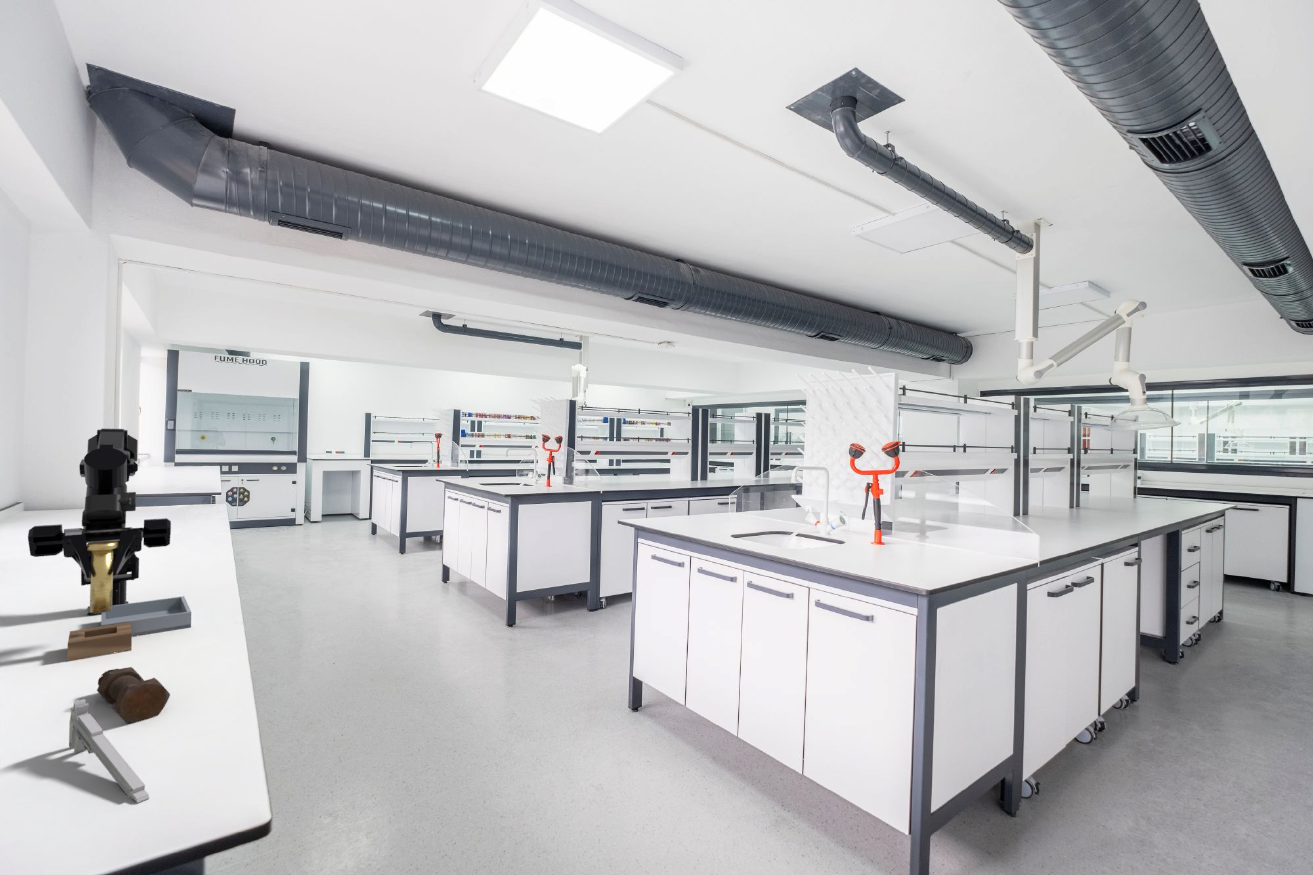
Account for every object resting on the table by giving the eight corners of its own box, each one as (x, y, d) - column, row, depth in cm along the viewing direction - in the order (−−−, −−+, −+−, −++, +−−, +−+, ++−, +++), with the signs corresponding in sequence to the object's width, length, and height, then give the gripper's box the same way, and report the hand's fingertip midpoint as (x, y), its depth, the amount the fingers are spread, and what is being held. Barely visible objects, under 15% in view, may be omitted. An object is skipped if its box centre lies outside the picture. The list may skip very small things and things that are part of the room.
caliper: (67, 750, 72) (68, 699, 72) (80, 746, 73) (81, 695, 73) (137, 806, 61) (138, 746, 61) (150, 801, 62) (151, 742, 62)
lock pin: (85, 610, 104) (87, 542, 104) (116, 606, 107) (117, 540, 107) (85, 615, 101) (86, 546, 101) (116, 611, 104) (118, 543, 104)
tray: (101, 621, 119) (101, 607, 119) (183, 609, 127) (184, 596, 127) (100, 641, 108) (101, 625, 108) (190, 627, 116) (191, 611, 116)
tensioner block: (69, 648, 104) (69, 631, 104) (130, 638, 110) (130, 622, 110) (67, 661, 98) (67, 643, 98) (131, 650, 104) (131, 633, 104)
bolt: (118, 702, 88) (151, 728, 80) (78, 695, 85) (108, 722, 76) (143, 662, 91) (177, 684, 82) (105, 654, 87) (137, 676, 79)
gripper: (30, 479, 101) (18, 554, 92) (171, 476, 113) (172, 542, 105) (36, 519, 107) (25, 593, 98) (169, 512, 119) (170, 577, 111)
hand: (101, 575), depth 103 cm, fingers closed on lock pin, 3 cm apart
